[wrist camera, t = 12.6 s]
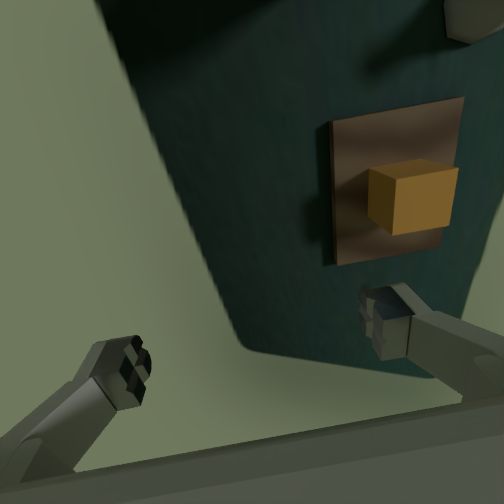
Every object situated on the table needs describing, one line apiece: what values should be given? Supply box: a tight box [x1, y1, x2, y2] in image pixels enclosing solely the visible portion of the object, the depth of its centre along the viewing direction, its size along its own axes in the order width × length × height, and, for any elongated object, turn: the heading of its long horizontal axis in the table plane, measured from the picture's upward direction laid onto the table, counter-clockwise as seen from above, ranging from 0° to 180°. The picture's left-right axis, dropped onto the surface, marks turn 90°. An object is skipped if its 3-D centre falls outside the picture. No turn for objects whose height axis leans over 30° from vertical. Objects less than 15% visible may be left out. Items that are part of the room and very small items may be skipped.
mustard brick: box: [368, 159, 459, 236], centre depth 31 cm, size 6×6×6 cm
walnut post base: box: [329, 97, 464, 266], centre depth 32 cm, size 18×14×6 cm
